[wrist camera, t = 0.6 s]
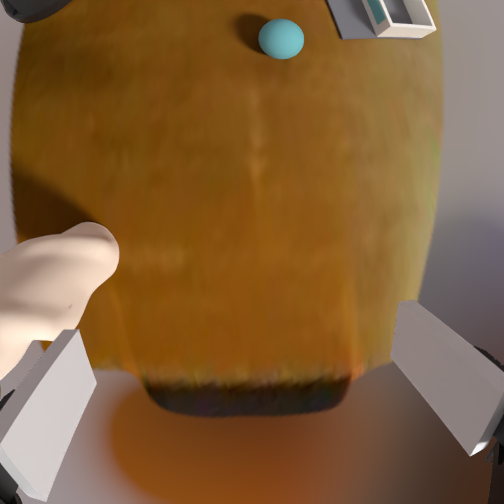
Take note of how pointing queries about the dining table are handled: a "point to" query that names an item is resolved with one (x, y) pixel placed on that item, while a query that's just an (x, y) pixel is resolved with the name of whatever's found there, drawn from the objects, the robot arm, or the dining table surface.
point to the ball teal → (281, 39)
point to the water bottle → (50, 285)
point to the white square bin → (388, 29)
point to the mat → (364, 18)
